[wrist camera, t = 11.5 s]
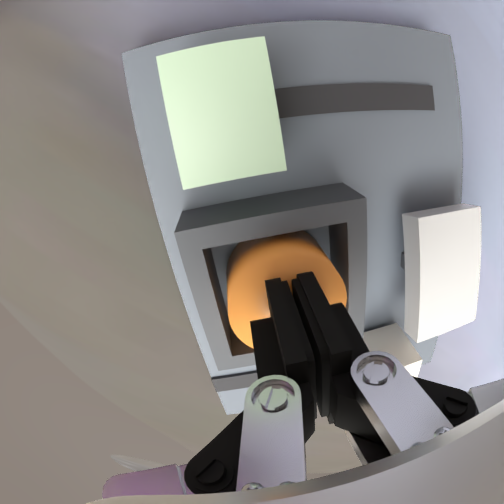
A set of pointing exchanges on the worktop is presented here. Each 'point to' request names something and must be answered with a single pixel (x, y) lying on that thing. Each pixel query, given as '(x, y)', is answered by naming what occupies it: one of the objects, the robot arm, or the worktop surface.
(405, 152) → the panel
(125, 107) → the worktop surface
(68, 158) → the worktop surface
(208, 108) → the green slider
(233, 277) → the orange button
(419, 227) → the block
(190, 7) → the worktop surface
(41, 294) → the worktop surface
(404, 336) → the ivory slider
